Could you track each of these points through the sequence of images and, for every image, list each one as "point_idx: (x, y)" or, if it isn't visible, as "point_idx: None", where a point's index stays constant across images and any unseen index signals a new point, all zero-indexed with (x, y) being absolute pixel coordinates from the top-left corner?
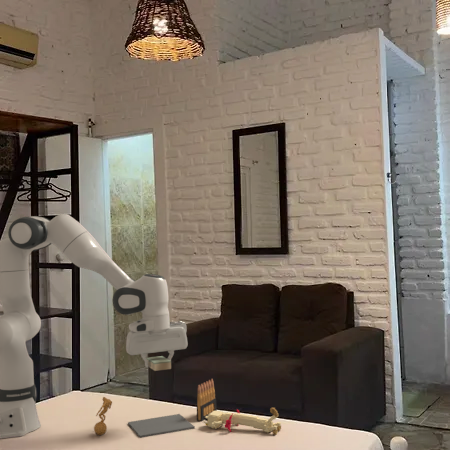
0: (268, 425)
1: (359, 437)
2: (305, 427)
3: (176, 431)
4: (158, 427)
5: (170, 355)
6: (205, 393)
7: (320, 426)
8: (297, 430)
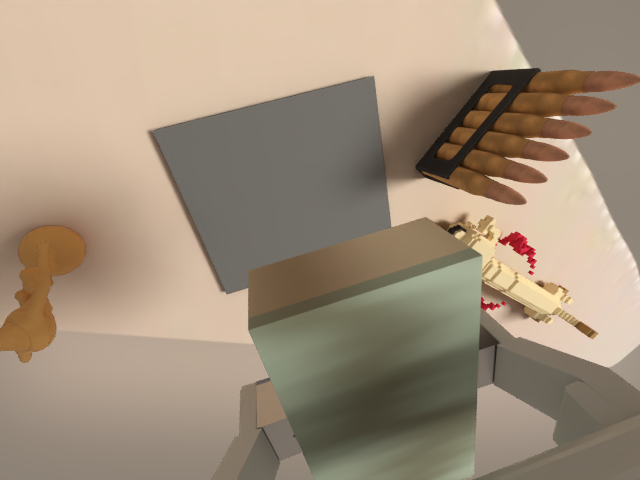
0: (542, 314)
1: (629, 339)
2: (604, 280)
3: None
4: (284, 229)
5: (540, 402)
6: (519, 157)
7: (628, 279)
8: (580, 294)
